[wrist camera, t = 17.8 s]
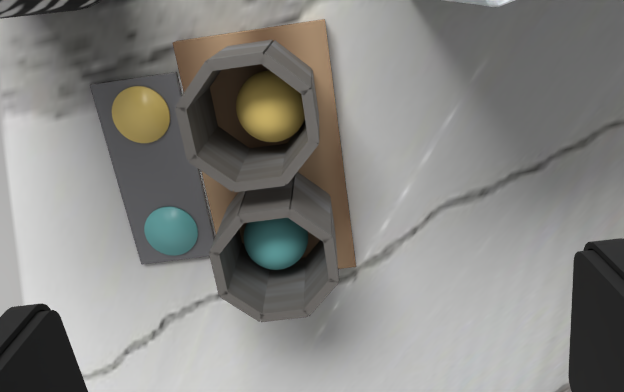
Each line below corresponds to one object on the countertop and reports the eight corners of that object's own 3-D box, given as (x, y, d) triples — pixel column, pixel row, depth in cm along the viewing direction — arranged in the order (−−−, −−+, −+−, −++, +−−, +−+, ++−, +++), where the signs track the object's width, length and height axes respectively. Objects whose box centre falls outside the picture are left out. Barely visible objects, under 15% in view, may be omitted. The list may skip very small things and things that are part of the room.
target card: (176, 72, 37) (174, 73, 37) (218, 252, 42) (216, 256, 42) (92, 84, 38) (88, 85, 37) (143, 262, 43) (140, 265, 42)
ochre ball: (284, 61, 36) (313, 67, 33) (294, 126, 38) (323, 138, 34) (221, 75, 35) (243, 82, 31) (234, 142, 37) (256, 156, 33)
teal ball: (307, 191, 39) (297, 222, 35) (316, 246, 40) (308, 281, 36) (246, 196, 39) (230, 227, 35) (257, 249, 41) (243, 284, 37)
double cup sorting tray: (324, 19, 36) (326, 28, 28) (355, 259, 42) (363, 319, 35) (177, 40, 36) (139, 56, 29) (229, 274, 43) (210, 337, 35)
